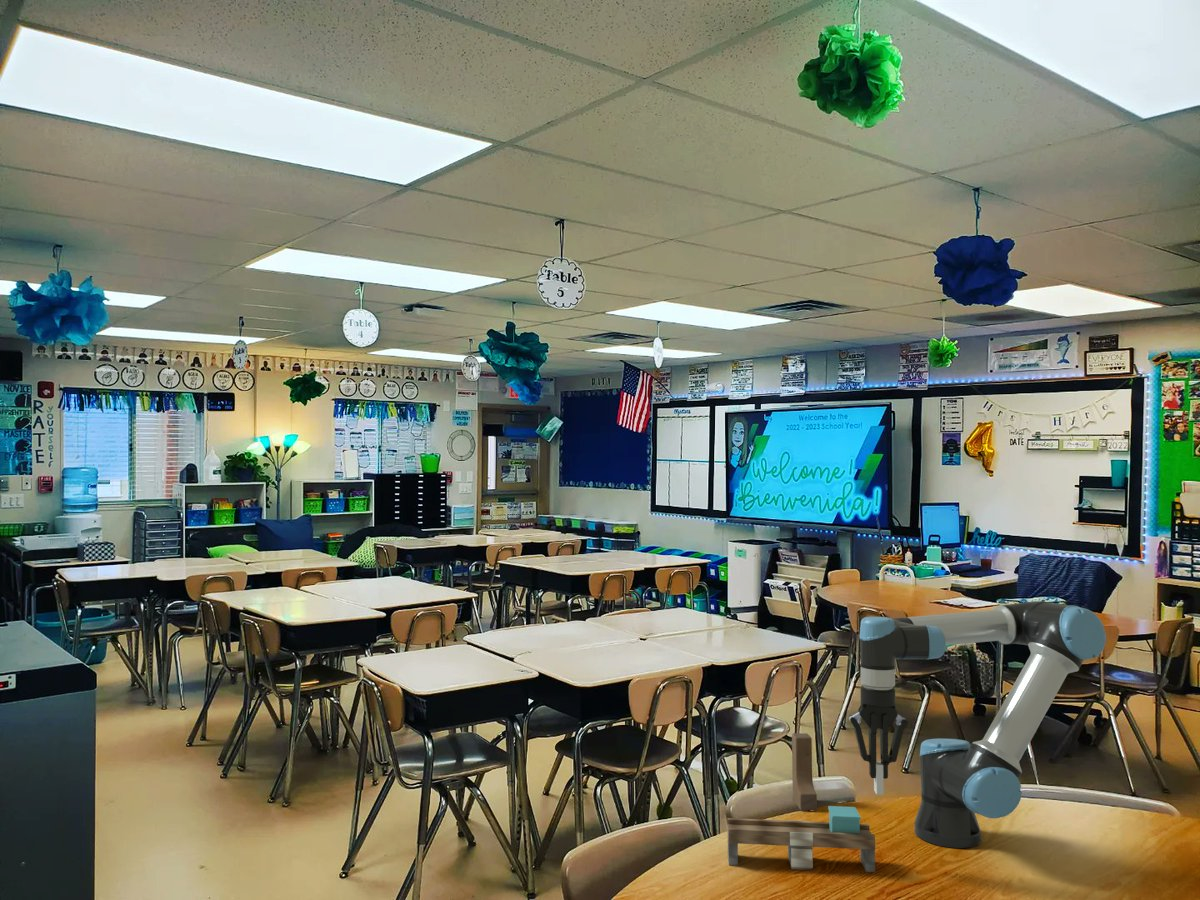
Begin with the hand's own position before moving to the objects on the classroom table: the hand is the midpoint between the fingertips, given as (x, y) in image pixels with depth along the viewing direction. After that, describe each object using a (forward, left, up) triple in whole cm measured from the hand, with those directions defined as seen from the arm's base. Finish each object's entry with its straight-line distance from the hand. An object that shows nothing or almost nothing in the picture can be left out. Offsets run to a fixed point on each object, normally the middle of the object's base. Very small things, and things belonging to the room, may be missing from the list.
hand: (878, 792), depth 191 cm
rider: (+8, 0, -9) cm, 12 cm away
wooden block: (+12, -38, -16) cm, 43 cm away
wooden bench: (+18, 0, -16) cm, 24 cm away
